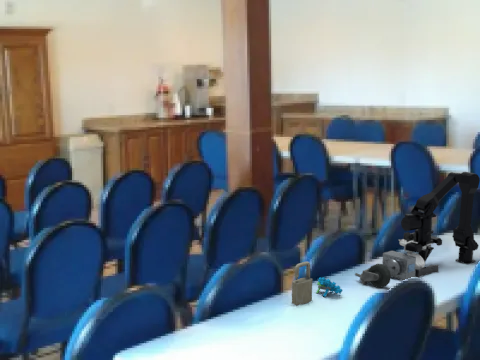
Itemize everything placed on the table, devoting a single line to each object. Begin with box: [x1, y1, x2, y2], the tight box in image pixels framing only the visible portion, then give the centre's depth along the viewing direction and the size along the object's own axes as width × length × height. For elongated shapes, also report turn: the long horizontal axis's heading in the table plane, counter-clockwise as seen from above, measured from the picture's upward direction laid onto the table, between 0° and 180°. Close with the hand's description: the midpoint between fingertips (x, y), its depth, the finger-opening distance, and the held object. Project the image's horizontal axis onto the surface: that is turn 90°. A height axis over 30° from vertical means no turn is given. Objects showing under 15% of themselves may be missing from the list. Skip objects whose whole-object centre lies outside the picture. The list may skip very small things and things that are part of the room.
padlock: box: [291, 261, 313, 306], centre depth 251 cm, size 4×8×15 cm, turn 131°
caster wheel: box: [354, 263, 392, 289], centre depth 270 cm, size 6×10×15 cm
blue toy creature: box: [315, 276, 343, 298], centre depth 258 cm, size 11×6×10 cm
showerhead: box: [398, 238, 417, 255], centre depth 312 cm, size 9×7×10 cm
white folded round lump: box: [409, 252, 426, 269], centre depth 288 cm, size 8×8×8 cm
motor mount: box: [382, 250, 439, 281], centre depth 285 cm, size 23×15×9 cm, turn 130°
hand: (422, 263), depth 292 cm, fingers closed
